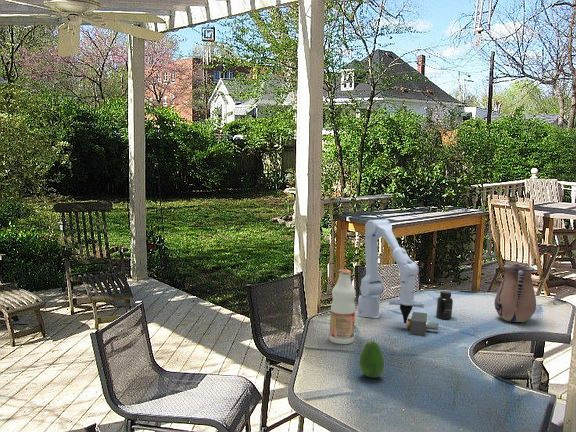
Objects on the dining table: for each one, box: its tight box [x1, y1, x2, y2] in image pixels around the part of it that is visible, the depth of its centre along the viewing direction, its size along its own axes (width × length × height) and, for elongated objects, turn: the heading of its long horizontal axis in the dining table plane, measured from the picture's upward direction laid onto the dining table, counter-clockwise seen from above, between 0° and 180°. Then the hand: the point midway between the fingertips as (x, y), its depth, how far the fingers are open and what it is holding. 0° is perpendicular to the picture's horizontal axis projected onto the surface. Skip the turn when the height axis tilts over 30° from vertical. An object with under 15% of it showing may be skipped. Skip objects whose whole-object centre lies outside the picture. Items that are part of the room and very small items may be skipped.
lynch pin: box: [406, 317, 439, 331], centre depth 250 cm, size 12×4×4 cm, turn 75°
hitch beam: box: [409, 311, 428, 337], centre depth 250 cm, size 6×14×6 cm, turn 165°
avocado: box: [359, 340, 385, 379], centre depth 196 cm, size 8×8×12 cm
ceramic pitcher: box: [494, 263, 537, 323], centre depth 268 cm, size 18×21×25 cm
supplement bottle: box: [435, 290, 454, 321], centre depth 270 cm, size 7×7×12 cm
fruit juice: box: [328, 268, 356, 345], centre depth 231 cm, size 9×9×28 cm
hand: (405, 322), depth 252 cm, fingers closed
